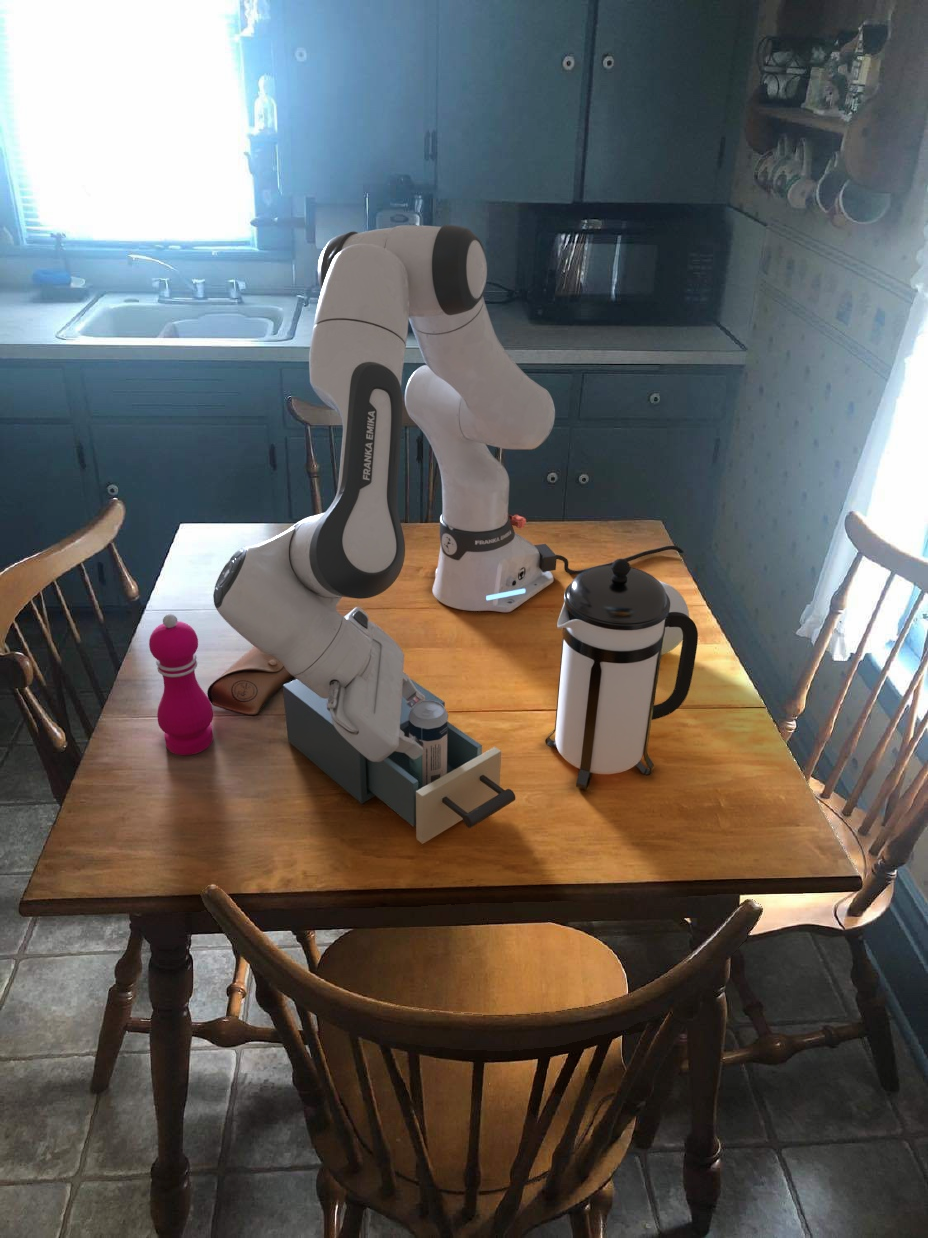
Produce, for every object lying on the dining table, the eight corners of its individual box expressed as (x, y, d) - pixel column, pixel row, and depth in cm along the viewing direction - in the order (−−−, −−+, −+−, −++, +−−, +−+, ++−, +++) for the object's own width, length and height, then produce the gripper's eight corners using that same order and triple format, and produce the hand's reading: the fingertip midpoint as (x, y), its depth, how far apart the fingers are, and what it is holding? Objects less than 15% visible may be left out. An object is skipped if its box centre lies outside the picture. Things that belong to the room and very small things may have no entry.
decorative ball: (608, 627, 157) (615, 563, 151) (681, 634, 155) (692, 570, 149) (606, 667, 147) (614, 600, 141) (685, 674, 145) (696, 607, 139)
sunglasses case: (258, 715, 133) (233, 676, 131) (224, 725, 137) (199, 687, 135) (321, 652, 148) (299, 616, 146) (289, 663, 151) (267, 628, 150)
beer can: (452, 779, 120) (454, 702, 114) (439, 803, 116) (440, 725, 110) (417, 771, 121) (416, 694, 115) (403, 794, 117) (402, 716, 111)
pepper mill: (167, 726, 132) (145, 601, 122) (220, 724, 132) (202, 599, 122) (157, 759, 126) (133, 630, 115) (213, 757, 126) (193, 629, 116)
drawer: (530, 820, 116) (533, 773, 112) (452, 870, 108) (453, 821, 104) (419, 739, 129) (419, 694, 125) (344, 778, 121) (341, 732, 118)
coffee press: (638, 812, 118) (670, 604, 103) (524, 770, 125) (538, 569, 110) (682, 739, 132) (716, 544, 116) (576, 704, 138) (595, 516, 123)
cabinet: (444, 758, 127) (445, 701, 122) (361, 804, 119) (358, 745, 114) (368, 702, 137) (366, 648, 133) (287, 741, 129) (282, 685, 125)
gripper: (345, 696, 99) (439, 769, 104) (360, 599, 116) (439, 666, 122) (305, 730, 101) (399, 800, 106) (325, 630, 118) (405, 694, 124)
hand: (420, 727), depth 114 cm, fingers open, 8 cm apart
